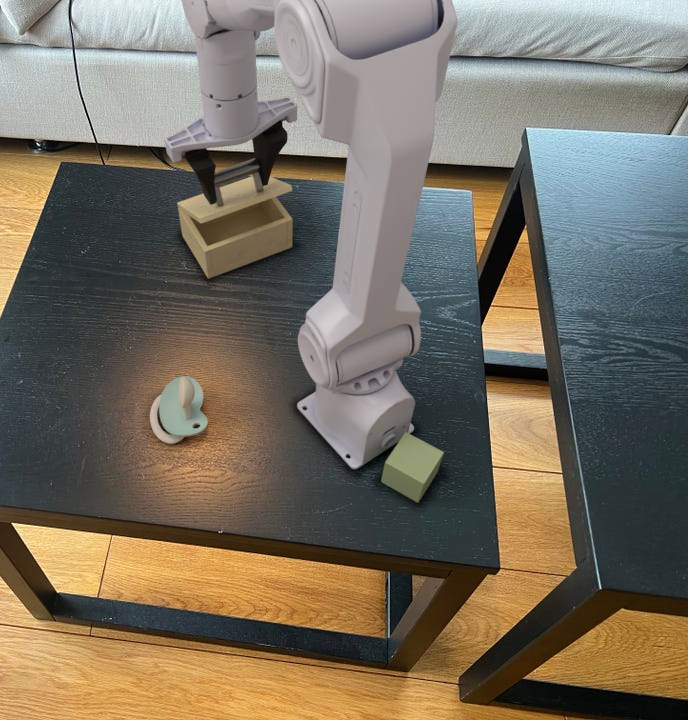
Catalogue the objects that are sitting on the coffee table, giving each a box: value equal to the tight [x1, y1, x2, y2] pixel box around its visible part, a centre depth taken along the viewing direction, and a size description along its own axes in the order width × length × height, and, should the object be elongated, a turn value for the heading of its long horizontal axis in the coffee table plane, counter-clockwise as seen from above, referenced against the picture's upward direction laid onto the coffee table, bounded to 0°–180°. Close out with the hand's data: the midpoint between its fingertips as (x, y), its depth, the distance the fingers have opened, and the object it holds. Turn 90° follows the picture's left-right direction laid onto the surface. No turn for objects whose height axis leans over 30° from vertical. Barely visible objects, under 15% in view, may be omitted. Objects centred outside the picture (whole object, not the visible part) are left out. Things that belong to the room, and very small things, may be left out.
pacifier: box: [149, 375, 208, 445], centre depth 77 cm, size 7×6×6 cm
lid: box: [176, 157, 293, 224], centre depth 88 cm, size 9×11×4 cm
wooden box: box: [177, 196, 294, 279], centre depth 93 cm, size 8×11×5 cm
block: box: [380, 432, 445, 504], centre depth 72 cm, size 4×4×4 cm
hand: (236, 189), depth 86 cm, fingers closed on lid, 6 cm apart
